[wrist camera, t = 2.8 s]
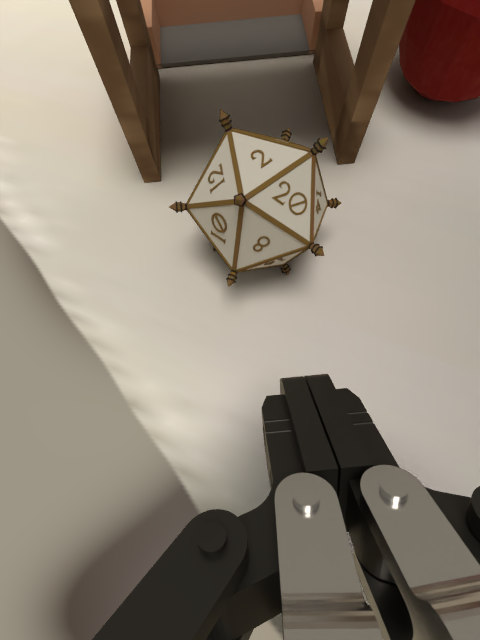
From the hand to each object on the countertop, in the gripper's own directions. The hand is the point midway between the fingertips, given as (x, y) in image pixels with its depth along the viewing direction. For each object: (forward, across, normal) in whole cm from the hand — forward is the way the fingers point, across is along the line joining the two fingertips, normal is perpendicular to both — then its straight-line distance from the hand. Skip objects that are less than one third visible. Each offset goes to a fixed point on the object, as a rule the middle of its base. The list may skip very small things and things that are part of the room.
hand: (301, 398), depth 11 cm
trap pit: (+29, 0, -17) cm, 33 cm away
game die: (+14, 0, -2) cm, 14 cm away
